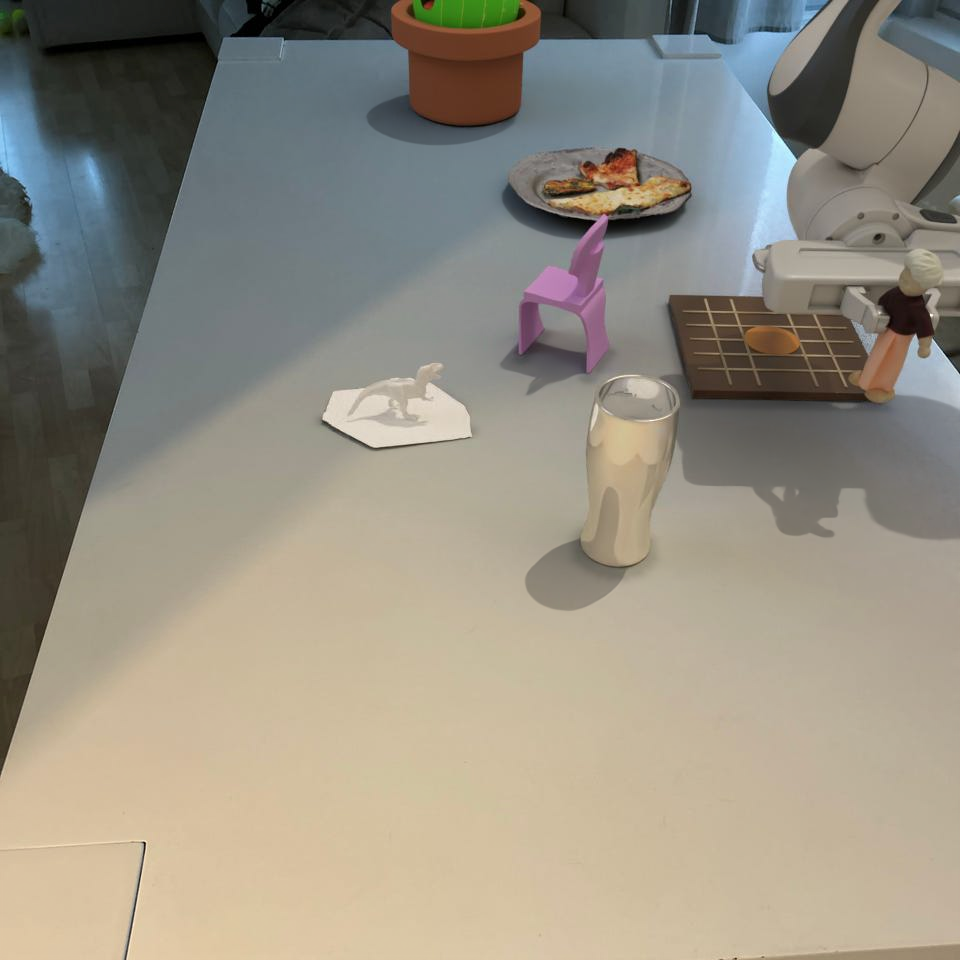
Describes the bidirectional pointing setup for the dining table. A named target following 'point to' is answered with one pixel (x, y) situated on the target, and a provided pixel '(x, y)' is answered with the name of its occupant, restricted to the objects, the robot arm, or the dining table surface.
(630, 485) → the beer glass
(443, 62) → the potted cactus
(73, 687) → the dining table surface
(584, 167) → the food plate
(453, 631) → the dining table surface
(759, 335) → the game board
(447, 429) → the dinosaur figurine
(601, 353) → the toy chair
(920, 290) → the grandmother figurine
